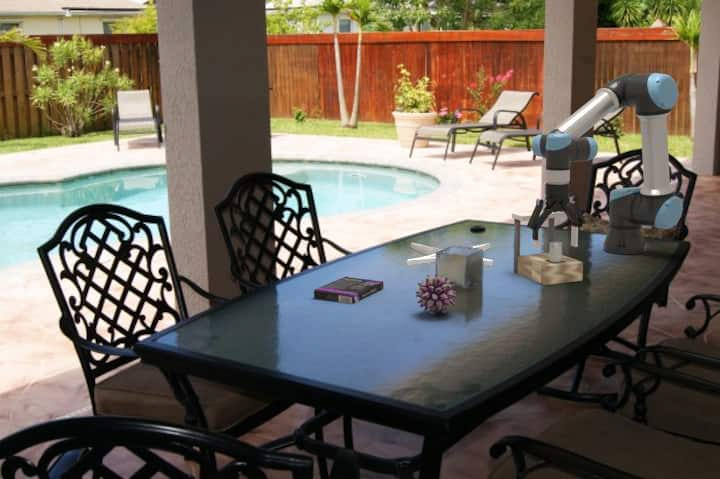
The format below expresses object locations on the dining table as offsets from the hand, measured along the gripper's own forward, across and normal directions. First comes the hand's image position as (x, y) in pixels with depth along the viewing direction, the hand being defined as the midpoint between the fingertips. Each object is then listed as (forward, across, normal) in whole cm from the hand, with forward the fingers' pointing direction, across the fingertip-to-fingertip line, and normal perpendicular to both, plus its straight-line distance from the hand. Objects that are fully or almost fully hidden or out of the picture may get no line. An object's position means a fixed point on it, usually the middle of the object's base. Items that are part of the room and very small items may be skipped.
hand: (555, 248), depth 299 cm
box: (+11, +67, -10) cm, 69 cm away
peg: (+10, 0, 0) cm, 10 cm away
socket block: (+10, 0, -3) cm, 11 cm away
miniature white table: (+10, 0, -11) cm, 15 cm away
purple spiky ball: (+10, +52, +21) cm, 57 cm away
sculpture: (+11, +16, -45) cm, 49 cm away
